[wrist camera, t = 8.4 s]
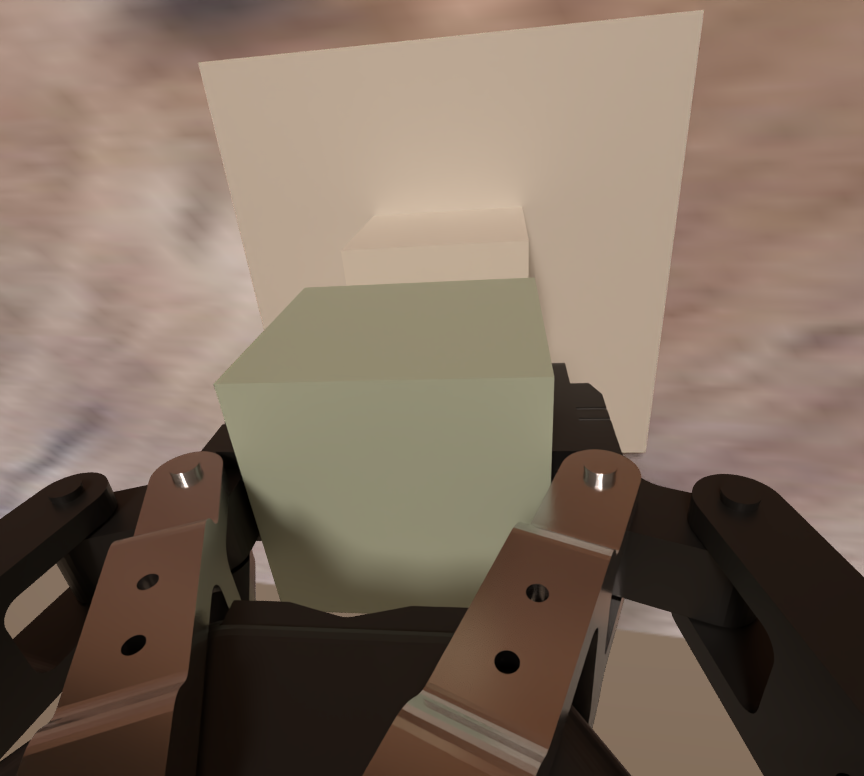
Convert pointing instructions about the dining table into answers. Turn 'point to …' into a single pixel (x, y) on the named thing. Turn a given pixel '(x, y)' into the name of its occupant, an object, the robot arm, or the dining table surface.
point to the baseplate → (480, 169)
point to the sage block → (393, 438)
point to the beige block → (439, 247)
